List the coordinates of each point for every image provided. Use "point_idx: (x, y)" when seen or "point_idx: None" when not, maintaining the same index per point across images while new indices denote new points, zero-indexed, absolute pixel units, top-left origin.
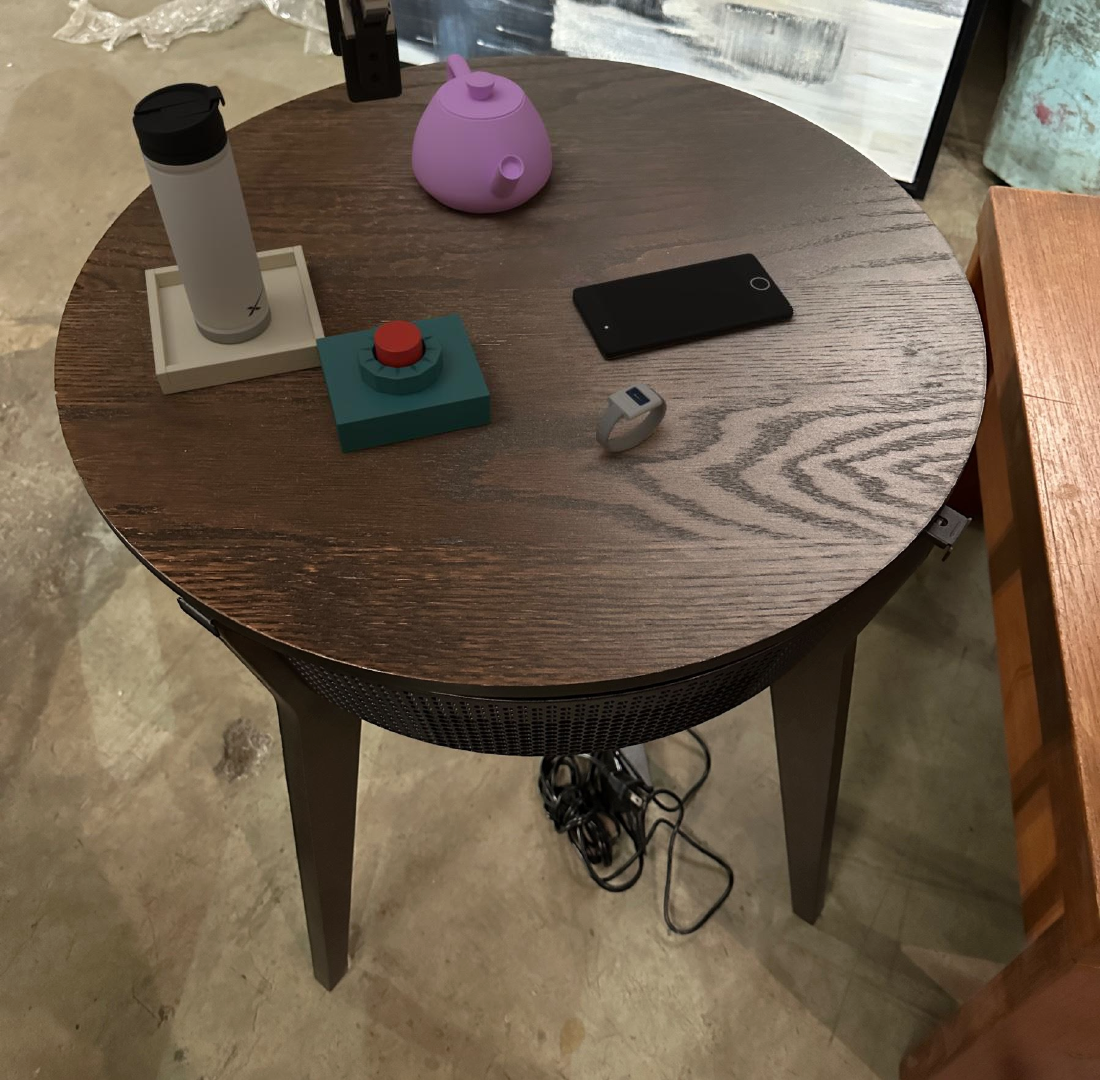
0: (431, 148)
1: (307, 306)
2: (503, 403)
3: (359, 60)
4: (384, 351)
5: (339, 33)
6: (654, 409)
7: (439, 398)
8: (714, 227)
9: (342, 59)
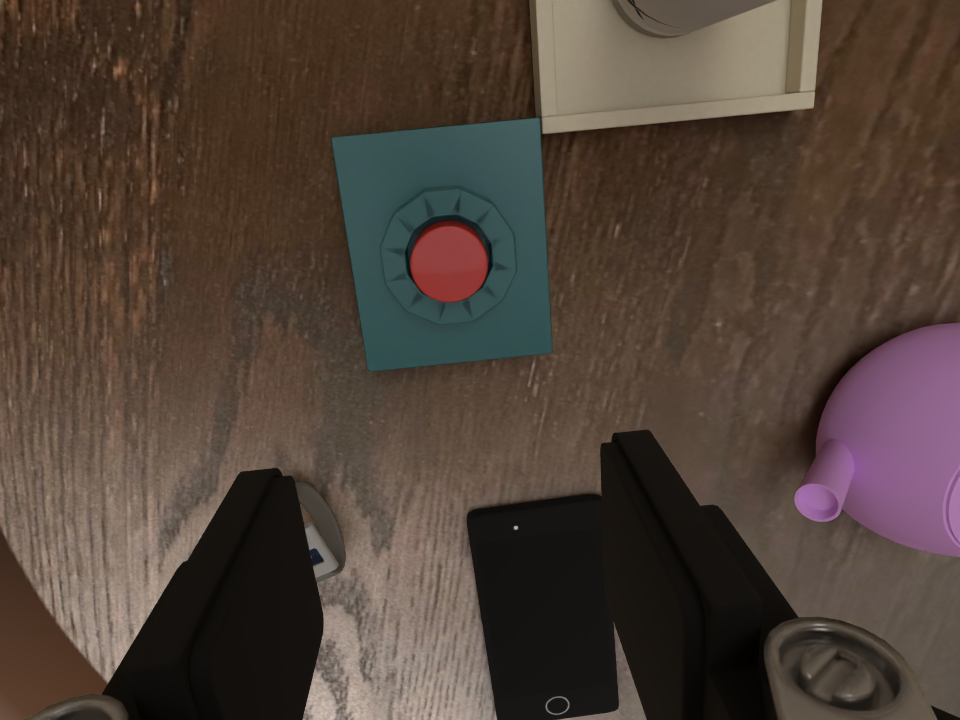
0: (951, 375)
1: (643, 107)
2: (411, 373)
3: (129, 651)
4: (419, 238)
5: (156, 666)
6: (338, 556)
7: (369, 300)
8: None
9: (232, 556)
